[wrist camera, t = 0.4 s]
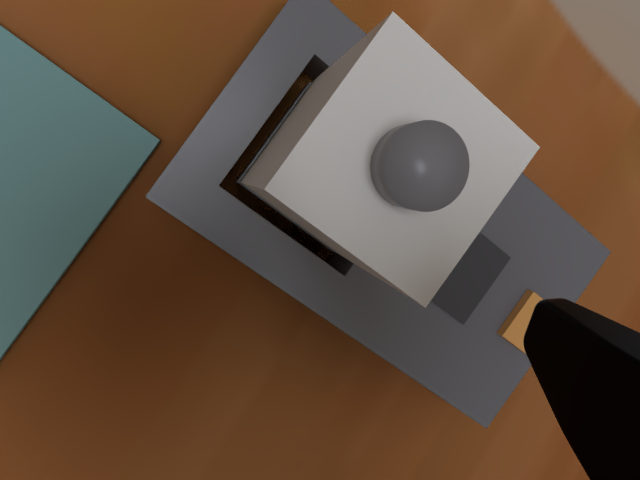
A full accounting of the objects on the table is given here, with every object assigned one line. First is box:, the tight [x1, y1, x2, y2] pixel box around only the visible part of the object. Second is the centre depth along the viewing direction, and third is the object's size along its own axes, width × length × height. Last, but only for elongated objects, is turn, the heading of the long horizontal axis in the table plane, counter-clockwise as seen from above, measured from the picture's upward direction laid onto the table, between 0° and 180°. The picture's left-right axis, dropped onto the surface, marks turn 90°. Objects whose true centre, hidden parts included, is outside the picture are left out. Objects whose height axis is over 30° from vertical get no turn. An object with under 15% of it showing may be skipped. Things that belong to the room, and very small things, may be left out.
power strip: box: [145, 0, 611, 429], centre depth 22 cm, size 10×18×4 cm, turn 53°
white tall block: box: [235, 12, 540, 308], centre depth 17 cm, size 5×5×12 cm
